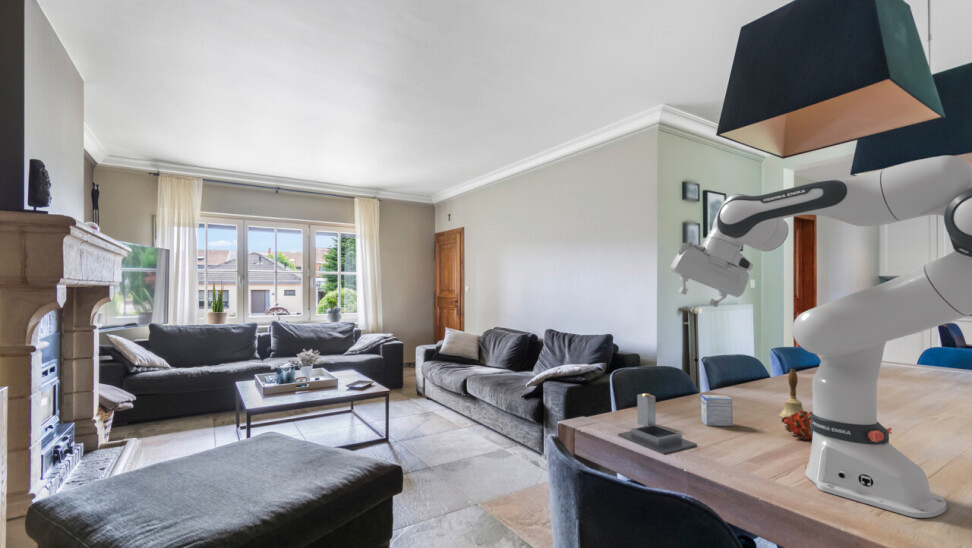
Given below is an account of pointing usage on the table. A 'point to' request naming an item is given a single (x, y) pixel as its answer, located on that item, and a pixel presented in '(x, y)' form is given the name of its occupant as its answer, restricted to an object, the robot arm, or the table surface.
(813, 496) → the table surface
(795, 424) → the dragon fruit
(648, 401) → the nut block
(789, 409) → the hand bell
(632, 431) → the rectangular socket base
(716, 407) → the medicine box
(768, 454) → the table surface
